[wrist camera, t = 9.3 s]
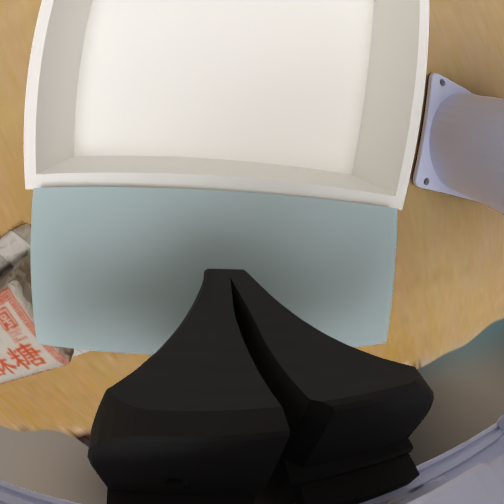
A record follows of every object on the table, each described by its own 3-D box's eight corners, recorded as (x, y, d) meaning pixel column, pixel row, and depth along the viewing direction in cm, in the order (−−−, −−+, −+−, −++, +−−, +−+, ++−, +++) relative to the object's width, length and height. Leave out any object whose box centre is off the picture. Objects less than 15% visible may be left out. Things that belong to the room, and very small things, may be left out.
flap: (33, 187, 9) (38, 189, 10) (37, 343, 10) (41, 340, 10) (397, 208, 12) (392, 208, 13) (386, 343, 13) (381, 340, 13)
